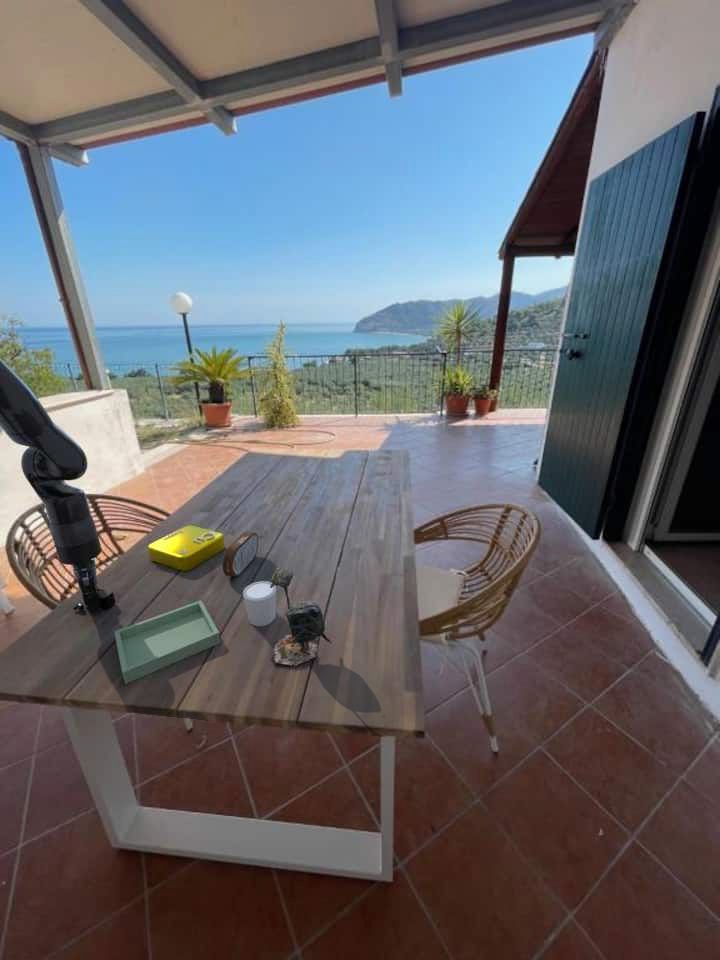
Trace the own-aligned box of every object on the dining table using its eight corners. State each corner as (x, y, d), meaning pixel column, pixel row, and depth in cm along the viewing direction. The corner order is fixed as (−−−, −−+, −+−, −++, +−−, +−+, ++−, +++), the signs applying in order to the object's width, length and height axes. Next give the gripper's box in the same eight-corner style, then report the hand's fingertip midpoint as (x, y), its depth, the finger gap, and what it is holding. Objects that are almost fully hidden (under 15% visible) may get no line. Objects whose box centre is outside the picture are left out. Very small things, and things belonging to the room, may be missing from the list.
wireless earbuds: (91, 598, 90) (88, 586, 89) (117, 603, 89) (114, 591, 88) (73, 611, 86) (69, 599, 85) (100, 616, 85) (96, 603, 83)
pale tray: (125, 684, 68) (122, 672, 67) (117, 641, 77) (114, 631, 76) (220, 643, 77) (219, 632, 76) (202, 609, 87) (201, 600, 86)
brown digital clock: (251, 552, 110) (248, 525, 107) (261, 553, 110) (258, 526, 107) (223, 582, 96) (219, 552, 94) (234, 583, 96) (231, 553, 93)
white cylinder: (239, 623, 82) (235, 595, 80) (258, 604, 88) (255, 577, 86) (266, 631, 80) (263, 603, 78) (284, 611, 86) (282, 584, 84)
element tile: (191, 536, 119) (188, 522, 118) (228, 547, 113) (226, 532, 111) (147, 559, 106) (143, 544, 105) (185, 573, 100) (183, 557, 99)
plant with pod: (324, 673, 70) (320, 578, 63) (265, 664, 72) (254, 571, 65) (334, 641, 77) (332, 553, 71) (281, 634, 79) (273, 547, 73)
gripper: (54, 529, 85) (73, 593, 91) (53, 556, 74) (75, 628, 80) (94, 520, 89) (110, 582, 95) (99, 545, 79) (117, 613, 84)
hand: (94, 603), depth 88 cm, fingers closed on wireless earbuds, 5 cm apart
